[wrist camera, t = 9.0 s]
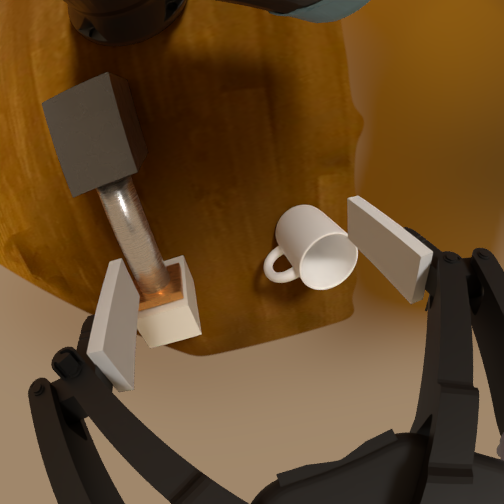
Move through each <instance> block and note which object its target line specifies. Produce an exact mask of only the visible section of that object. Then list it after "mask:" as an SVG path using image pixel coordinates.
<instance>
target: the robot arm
mask: <svg viewBox="0 0 504 504" xmlns="http://www.w3.org/2000/svg"><path fill="white" fill-rule="evenodd" d="M63 1H65V2H66V3H67V4H68V14H69V18H70V20H71V23H72V24H73V26H74V28H75V29H76V30H77V31H78V32H79V33H80V34H81V35H83V36H84V37H86V38H87V39H89V40H90V41H92V42H95V43H97V44H101V45H106V46H125V45H131V44H135V43H138V42H141V41H144V40H146V39H149V38H151V37H153V36H155V35H156V34H158V33H160V32H161V31H163V30H164V29H165V28H167V27H168V26H169V25H170V24H171V23H172V22H173V21H174V20H175V19H176V18H177V17H178V15H179V14H180V13H181V11H182V10H183V8H184V6H185V4H186V2H187V0H63ZM216 1H222V2H228V3H234V4H239V5H244V6H249V7H254V8H258V9H262V10H266V11H268V12H269V13H271V14H274V15H278V16H291V17H295V18H298V19H302V20H306V21H309V22H314V23H322V22H333V21H337V20H340V19H342V18H345V17H347V16H349V15H351V14H352V13H354V12H356V11H357V10H359V9H360V8H361V7H363V6H364V5H365V4H366V3H368V2H369V1H370V0H216ZM347 202H348V239H349V240H350V241H351V242H352V243H353V244H354V245H355V246H356V247H357V248H358V249H359V250H360V251H361V252H362V253H363V254H364V255H365V256H366V257H367V258H368V259H369V260H370V261H371V262H372V263H373V264H374V265H375V266H376V267H377V268H378V269H379V270H380V271H381V273H382V274H383V275H384V276H385V277H386V278H387V279H388V280H389V281H390V282H391V283H392V284H393V285H394V286H395V287H396V288H397V290H398V291H399V292H400V293H401V294H402V295H403V296H404V297H405V298H406V299H407V300H408V302H409V303H410V304H412V303H415V302H417V301H419V300H422V299H423V296H424V291H425V290H426V291H427V292H428V293H429V294H430V295H429V298H428V302H427V305H426V309H425V311H427V310H428V318H427V319H428V320H427V334H426V347H425V357H424V366H423V374H422V381H421V388H420V395H419V401H418V406H417V412H416V417H415V420H414V423H413V425H412V427H411V430H410V433H397V434H394V432H393V430H392V429H391V430H388V431H387V432H384V433H382V434H380V435H378V436H376V437H374V438H372V439H370V440H368V441H366V442H365V443H363V444H362V445H361V446H359V447H358V448H357V449H355V450H354V451H353V452H351V453H350V454H349V455H347V456H346V457H345V458H343V459H341V460H339V461H334V462H327V463H319V464H311V465H305V466H302V467H299V468H296V469H293V470H289V471H286V472H282V473H279V474H277V477H278V479H277V480H276V481H274V482H272V483H270V484H269V485H268V486H266V487H265V488H264V489H263V490H262V491H260V493H259V494H258V495H257V496H256V497H255V499H254V500H253V501H252V503H251V504H504V271H503V269H502V268H501V266H500V264H499V263H498V261H497V259H496V258H495V256H494V255H493V254H492V253H491V252H490V251H489V250H487V249H484V248H476V249H474V250H473V253H472V257H471V258H461V257H460V256H459V255H458V254H456V253H454V252H450V251H449V252H447V251H445V252H441V251H440V250H439V249H437V248H436V247H435V246H434V245H433V244H431V243H430V242H429V241H427V240H426V239H425V238H423V237H422V236H421V235H420V234H418V233H417V232H416V231H414V230H412V229H410V228H407V227H404V228H402V227H401V226H400V225H398V224H397V223H396V222H394V221H393V220H392V219H390V218H389V217H388V216H386V215H385V214H383V213H382V212H381V211H379V210H378V209H377V208H375V207H374V206H372V205H371V204H370V203H368V202H367V201H365V200H364V199H363V198H361V197H359V196H355V197H350V198H347ZM139 299H140V296H139V294H138V292H137V290H136V287H135V285H134V283H133V281H132V279H131V277H130V275H129V273H128V271H127V268H126V266H125V264H124V262H123V260H122V258H120V259H117V260H113V261H110V262H109V265H108V269H107V272H106V276H105V279H104V283H103V286H102V290H101V293H100V297H99V301H98V305H97V309H96V313H95V315H91V316H88V317H87V319H86V320H85V322H84V323H83V326H82V330H81V334H80V337H79V341H78V346H77V350H75V349H74V348H73V347H65V348H62V349H61V350H59V351H58V352H57V353H56V354H55V356H54V357H53V359H52V364H51V365H52V368H53V370H54V371H55V372H56V373H57V374H58V375H59V376H60V379H58V380H57V381H54V382H52V383H50V382H49V381H48V380H47V379H46V378H39V379H37V380H35V381H34V382H33V383H32V384H31V386H30V388H29V391H28V397H29V403H30V408H31V414H32V418H33V423H34V428H35V432H36V436H37V440H38V444H39V448H40V452H41V455H42V459H43V461H44V465H45V468H46V472H47V475H48V477H49V480H50V483H51V486H52V489H53V492H54V494H55V497H56V499H57V502H58V504H125V503H124V501H123V500H122V498H121V496H120V495H119V493H118V491H117V489H116V487H115V486H114V484H113V482H112V480H111V478H110V476H109V474H108V472H107V470H106V468H105V466H104V464H103V462H102V460H101V458H100V456H99V454H98V451H97V449H96V447H95V445H94V443H93V440H92V438H91V435H90V433H89V431H88V428H87V426H86V423H85V421H84V418H86V417H88V416H89V417H90V418H91V420H92V421H93V422H94V423H95V425H96V426H97V427H98V428H99V430H100V431H101V432H102V433H103V434H104V436H105V437H106V438H107V439H108V440H109V442H110V443H111V444H112V445H113V446H114V447H115V448H116V450H117V451H118V452H119V453H120V454H121V455H122V456H123V457H124V458H125V459H126V460H127V461H128V462H129V463H130V465H131V466H132V467H134V469H135V470H136V471H137V472H139V474H140V475H141V476H142V477H143V478H144V479H145V480H146V481H148V482H149V483H150V484H151V485H152V486H153V487H154V488H155V489H156V490H157V491H158V492H160V493H161V494H162V495H163V496H164V497H165V498H166V499H167V500H169V502H170V503H171V504H248V503H247V502H245V501H243V500H242V499H240V498H239V497H237V496H235V495H234V494H232V493H231V492H229V491H228V490H226V489H225V488H223V487H222V486H220V485H219V484H217V483H216V482H215V481H213V480H212V479H210V478H209V477H207V476H206V475H205V474H203V473H202V472H200V471H199V470H198V469H196V468H195V467H194V466H192V465H191V464H190V463H189V462H187V461H186V460H185V459H183V458H182V457H181V456H179V455H178V454H177V453H176V452H175V451H174V450H172V449H171V448H170V447H169V446H168V445H166V444H165V443H164V442H163V441H162V440H161V439H159V438H158V437H157V436H156V435H155V434H154V433H153V432H152V431H151V430H149V429H148V428H147V427H146V426H145V425H144V424H143V423H142V422H141V421H140V420H138V418H137V417H135V415H134V414H133V413H131V412H130V411H129V410H128V409H127V408H126V407H125V406H124V405H123V404H122V403H121V401H120V400H118V398H117V397H116V396H115V395H114V394H113V393H112V388H113V386H114V387H115V388H116V389H117V390H118V392H123V391H129V390H134V368H135V349H136V333H137V320H138V309H139ZM471 325H472V327H471ZM472 328H473V331H474V334H475V337H476V340H477V343H478V347H479V350H480V353H481V357H482V360H483V364H484V368H485V372H486V375H487V380H488V384H489V388H490V393H491V397H492V402H493V407H494V413H495V417H496V422H497V425H498V429H499V432H500V435H501V439H500V444H499V446H498V447H497V454H498V456H500V457H501V460H500V459H496V458H493V457H489V456H486V455H482V454H479V453H476V452H474V451H475V442H476V435H477V424H478V409H479V390H478V388H475V387H474V386H473V345H472Z"/></svg>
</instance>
